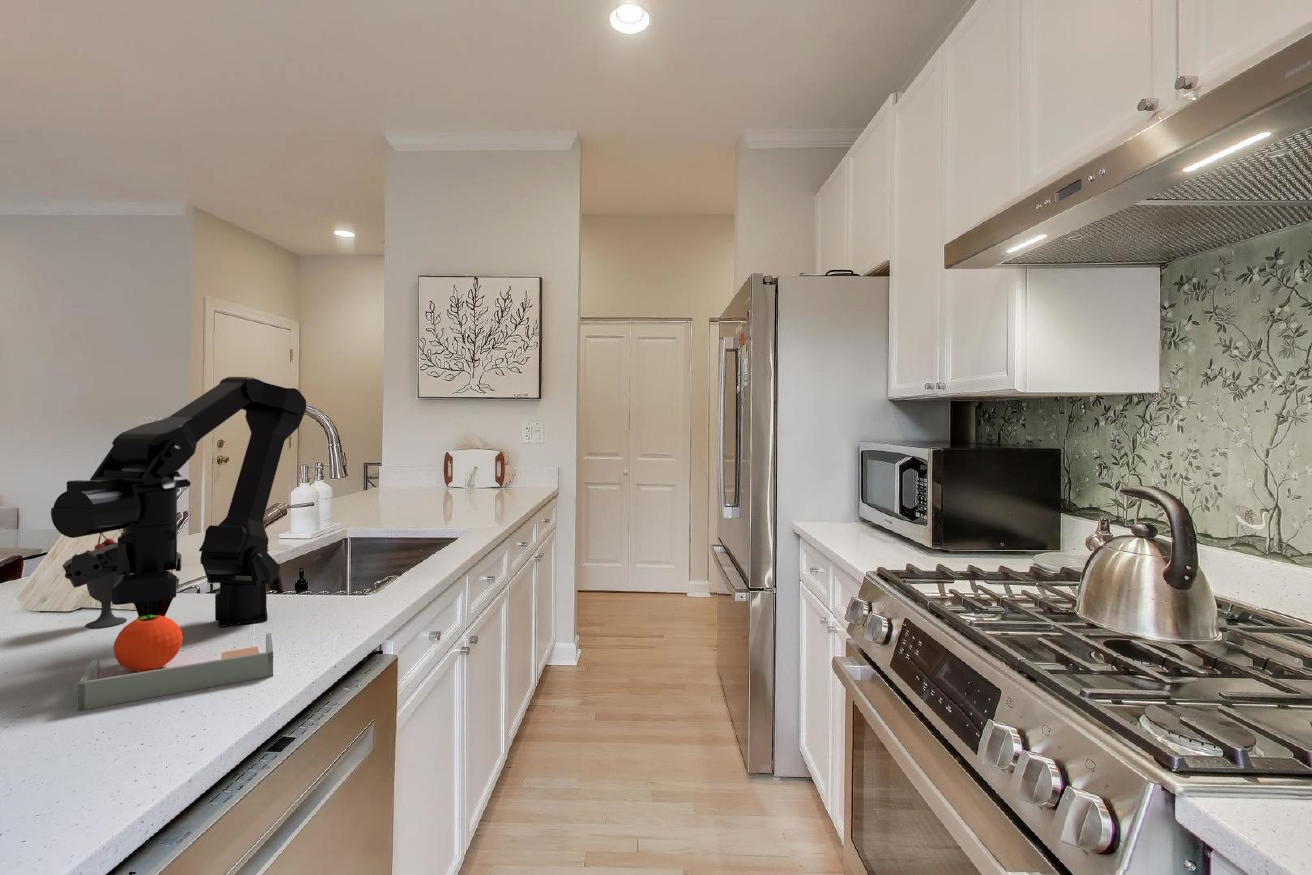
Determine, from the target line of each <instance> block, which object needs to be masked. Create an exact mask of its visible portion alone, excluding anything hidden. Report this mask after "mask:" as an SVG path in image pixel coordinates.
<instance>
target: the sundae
mask: <svg viewBox="0 0 1312 875" xmlns="http://www.w3.org/2000/svg"><path fill="white" fill-rule="evenodd" d="M101 536H102V537H103V538H104V539H105V540H104V541H103V542H101ZM100 542H101V543H100ZM117 542H118V541H117ZM117 542H115V541H114V539H113V538H107V537H106V536H105V535H104V532H103V533H99V536H98V541H97V544H96V545H95V546H94V550H96V549H99V548H102V547H105V546H108V545H111V544H114V543H117ZM123 576H124V575H121V576H117V571H115V572H113V573H110V574H107V575H105V576H102V577H99V578H97V579H94V580H91V581H88V582H87V584H86V587H87V591H88V595H89V597H91V598H92V599H93V600H95V601H97V602H100V604H101V610H100V614H99V616H98V618H97V619H95V620H93V621H90V622H87V623H86V624H85V625H84V627H85V628H87V629H104V628H110V627H115V626H118V625H122V624H123V623H126V622H127V621H128V619H127V618H126V617H121V616H115V615H114V613H113V610H112V589H113V587H114V585H115V583H116V582H117V581H118V580H120V579H121V578H122V577H123Z"/></svg>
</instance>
